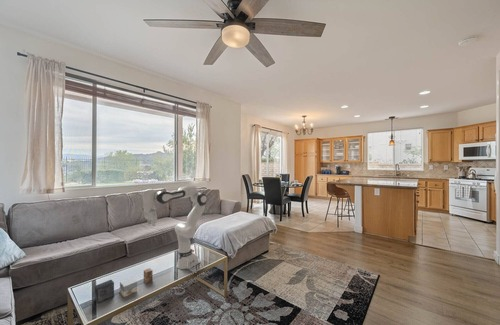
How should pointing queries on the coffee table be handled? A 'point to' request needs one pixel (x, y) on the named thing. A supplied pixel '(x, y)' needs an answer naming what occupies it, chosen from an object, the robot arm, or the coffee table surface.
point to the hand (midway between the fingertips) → (151, 224)
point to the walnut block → (148, 275)
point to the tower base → (128, 292)
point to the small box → (104, 291)
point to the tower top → (128, 284)
